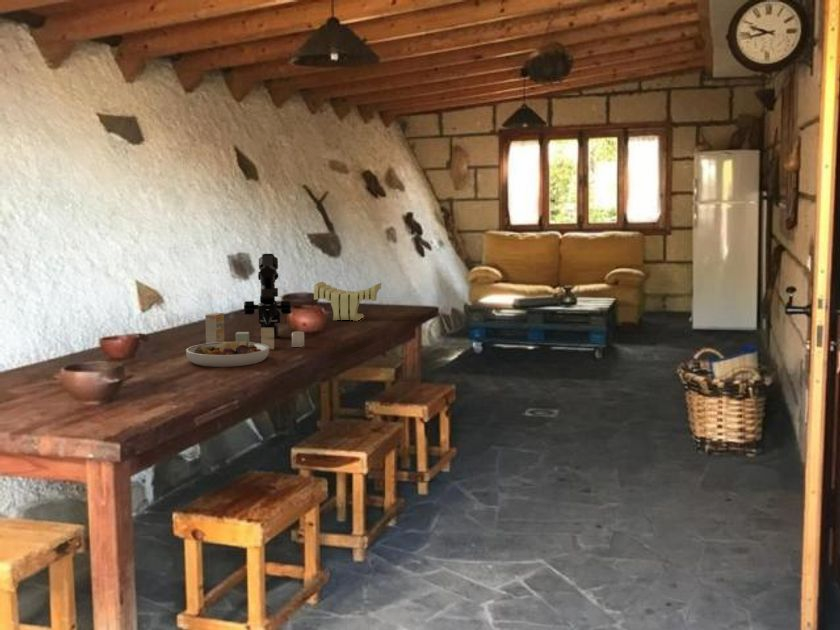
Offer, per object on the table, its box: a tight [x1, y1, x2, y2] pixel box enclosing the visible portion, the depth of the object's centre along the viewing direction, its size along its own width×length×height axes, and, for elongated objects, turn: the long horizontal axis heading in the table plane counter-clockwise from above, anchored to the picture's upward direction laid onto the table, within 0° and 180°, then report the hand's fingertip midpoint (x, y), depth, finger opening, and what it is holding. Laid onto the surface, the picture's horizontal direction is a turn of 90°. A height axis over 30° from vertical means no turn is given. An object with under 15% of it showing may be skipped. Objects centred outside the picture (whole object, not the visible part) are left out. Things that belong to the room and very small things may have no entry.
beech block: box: [260, 327, 275, 350], centre depth 363 cm, size 5×5×8 cm
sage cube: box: [234, 331, 250, 342], centre depth 372 cm, size 5×5×5 cm
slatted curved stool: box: [313, 281, 382, 322], centre depth 447 cm, size 30×16×18 cm, turn 81°
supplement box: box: [204, 312, 225, 344], centre depth 369 cm, size 8×5×13 cm, turn 168°
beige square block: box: [291, 330, 305, 348], centre depth 366 cm, size 5×5×6 cm
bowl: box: [185, 340, 270, 368], centre depth 336 cm, size 30×30×8 cm
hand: (267, 324), depth 364 cm, fingers closed
